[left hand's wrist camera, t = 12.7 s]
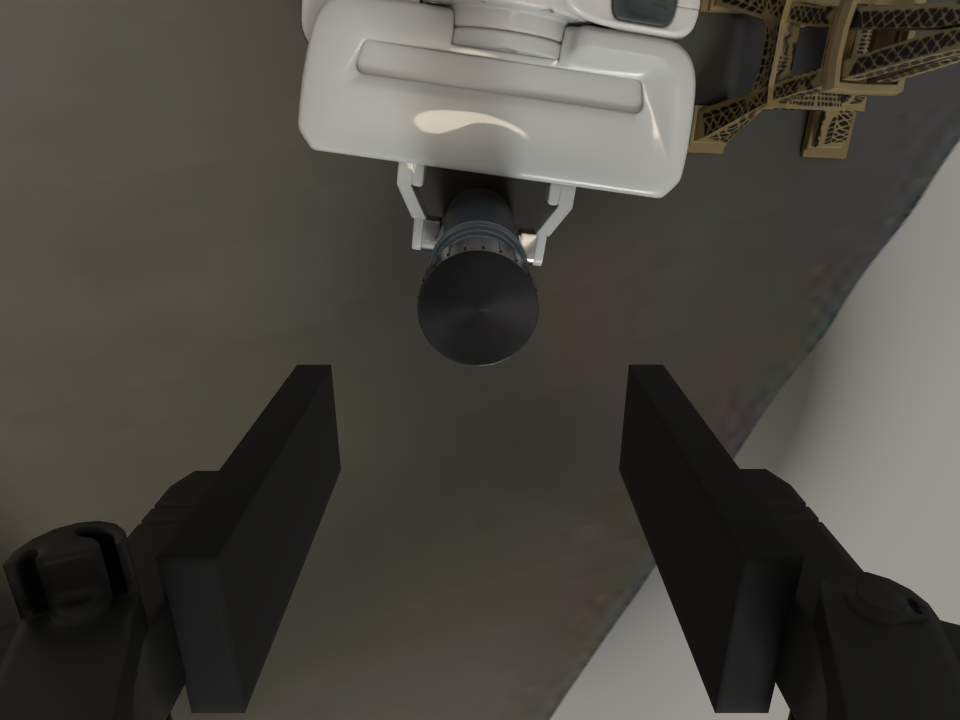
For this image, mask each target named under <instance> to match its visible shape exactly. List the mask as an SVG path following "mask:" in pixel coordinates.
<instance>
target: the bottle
mask: <svg viewBox="0 0 960 720" xmlns="http://www.w3.org/2000/svg"><path fill="white" fill-rule="evenodd" d="M482 237H484V238H488V239H492V240H496V241H498V242H499V241H501V243H503V244H505V245H507V246H509V247H510V248H511V249H513V250H514V249H515V250H516V253H517V254H518V255H519V256H520V257H521V258H522V260H523V261H524V262H526V263H527V265H528V260H527V256H526V253H525V250H524V247H523V244H522V241H521V238H520V235H519V232H518V229H517V226H516V223H515V220H514V217H513V214H512V211H511V209H510V207H509V205H508V203H507V202H506V201H505V199H504V198H503V197H502V196H500V195H499V194H498V193H496V192H494V191H492V190H490V189H486V188H472V189H469V190H466V191H464V192H462V193H460V194H459V195H457V196H456V197H455V198H454V199H453V200H452V202H451V203H450V205H449V207H448V209H447V211H446V214H445V217H444V220H443V222H442V225H441V228H440V231H439V233H438V236H437V239H436V242H435V245H434V247H433V250H432V253H431V256H430V260H429V266H430V264H431V263H432V261H433V260H434V258H435V255H436V254H439V253H440V252H441V251H443V250H444V249H445V248H446V247H448V245H449V244H453V243H455V242H458V241H461V240H464V239H465V238H467V239H469V238H482Z"/></svg>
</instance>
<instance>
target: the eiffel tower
mask: <svg viewBox="0 0 960 720" xmlns="http://www.w3.org/2000/svg"><path fill="white" fill-rule="evenodd" d="M926 1H927V0H785V1H783V0H700V9H699V12H708V13H731V14H748V15H751V16H754V17H757V18H760V19H764V23H765V45H764V53H763V58H762V63H761V66H760V69H759V73H758V76H757V79H756V82H755V84H754V86H753V89H752V91H751V92H749V93H746V94H743V95H740V96H737V97H735V98H732V99H729V100H726V101H723V102H720V103H717V104H714V105H712V106H705V105H694V111H693V119H692V126H691V133H690V139H689V145H688V150H687V152H694V153H719V154H723V150H724V146H725V147H726V144H727V142H728V141H729V140H730V139H731V138H732V137H734V136H735V135H736V134H737V133H738V132H739V131H740V130H741V129H742V128H743V127H744V126H745V125H747V124H748V123H749V122H750V121H751V120H752V119H753V118H754V117H755V116H756V115H757V114H758V113H760V112H761V111H762V110H763V109H783V110H809V111H810V113H809V117H808V122H807V127H806V131H805V136H804V141H803V145H802V150H801V155H800V157H819V158H845V159H846V155H847V151H848V147H849V142H850V138H851V134H852V130H853V126H854V121H855V117H856V113H857V112H853V111H865V105H866V98H867V96H868V95H897V94H899V93H900V92H902V91H903V88H904V82H905V79H906V78H909V77H913V76H916V75H919V74H922V73H926V72H929V71H932V70H936V69H939V68H942V67H945V66H949V65H952V64H955V63H959V62H960V0H958V1H949V2H937V3H926ZM806 26H810V27H816V28H829V32H828V36H827V41H826V45H825V50H824V55H823V59H822V64H821V68H820V69H816V70H812V71H809V72H805V73H802V74H798V75H795V76H793V77H790V75H791V70H792V65H793V60H794V54H795V49H796V45H797V40H798V35H799V30H800V29H801V28H803V27H806ZM926 30H940V31H935V32H930V33H927V34H924V35H921V36H918V37H915V38H914V36H915V32H916V31H926Z"/></svg>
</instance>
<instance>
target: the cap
mask: <svg viewBox="0 0 960 720" xmlns="http://www.w3.org/2000/svg"><path fill="white" fill-rule="evenodd" d="M422 281H423V284H422V285H421V288H420V291H419V294H418V297H417V298H418V317H419V322H420V325H421V328H422V331H423V333H424V335H425V336H426V338H427V339H428V341H429V342H430V344H431V345H432V346H433V347H434V348H435V349H436V350H437V351H438V352H440V353H441V354H442V355H444V356H445V357H447V358H449V359H451V360H453V361H455V362H458V363H461V364H465V365H471V366H485V365H492V364H495V363H499V362H501V361H504V360H506V359H508V358H509V357H511V356H513V355H514V354H515V353H517V352H518V351H519V350H520V349H521V348H522V347H523V346H524V345H525V344H526V342H527V341H528V340H529V338H530V337H531V335H532V333H533V331H534V328H535V326H536V322H537V318H538V308H539V305H538V298H537V294H536V291H537V288H536V285H535V282H534V279H533V277H531V274H530V272H529V268H528V265H527V263H526V262H524V261H523V260H522V258H521V257H520V256H519V255H518V254H517V253H516V250H515V249H514V250H513V249H511V248H510V247H509V246H507V245H505V244H503V243H501V241H499V242H498V241H496V240H492V239H488V238H484V237H482V238H469V239H467V238H465V239H464V240H461V241H458V242H455V243H453V244H449V245H448V247H446V248H445V249H444V250H443V251H441V252H440V253H439V254H436V255H435V258H434V260H433V261H432V263H431V264H430V266H429V268H427V269H426V271H425V274H424V277H423V280H422Z"/></svg>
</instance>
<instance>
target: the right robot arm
mask: <svg viewBox="0 0 960 720" xmlns="http://www.w3.org/2000/svg"><path fill="white" fill-rule="evenodd" d="M421 1H422V0H302V8H301V25H302V31H303V34H304V37H305V39H306V41H307V43H308V48H307V53H306V59H305V65H304V71H303V77H302V85H301V93H300V103H299V117H298V126H299V130H300V132H301V133H302V135H303V137H304V138H305V140H306V141H307V143H308V144H309V145H310V147H311V148H312V149H314V150H319V151H326V152H333V153H340V154H347V155H354V156H361V157H368V158H376V159H383V160H390V161H397V162H399V165H398V177H397V185H398V187H399V190H400V192H401V194H402V196H403V199H404V201H405V203H406V205H407V207H408V210H409V212H410V214H411V216H412V218H414V227H413V238H412V249H416V250H424V251H432V250H433V247H434V245H435V242H436V239H437V236H438V233H439V231H440V228H441V224H442V217H437V216H430V215H428V212H427V210H426V207H425V205H424V203H423V200H422V198H421V195H420V193H419V191H418V188H417V186H419V187H421V186H422V185H423V184H424V183H425V182H426V175H427V166H433V167H440V168H447V169H454V170H461V171H468V172H475V173H482V174H490V175H497V176H504V177H511V178H518V179H525V180H532V181H539V182H546V189H545V196H544V198H545V200H546V201H547V202H548V203H549V205H551V206H550V207H549V209H548V210H547V211H546V213H545V214H544V215H543V216H542V218H541V219H540V220H539V222H538V223H537V224H536V225H535V227H534V228H533V229H524V228H519V235H520V238H521V241H522V244H523V247H524V250H525V253H526V256H527V260H528V265H536V266H541V264H542V261H543V255H544V250H545V244H546V238H547V236H550V235H551V233H552V232H553V231H554V230H555V229H556V227H557V226H558V225H559V224H560V223H561V221H562V220H563V219H564V218H565V217H566V215H567V214H568V213H569V212H570V210H571V209H572V207H573V201H574V196H575V191H576V187H582V188H589V189H596V190H603V191H611V192H618V193H625V194H632V195H639V196H646V197H654V198H661V197H663V196H665V195H666V194H667V193H668V192H669V191H670V190H672V189H673V188H674V187H675V186H676V185H677V184H678V182H679V181H680V179H681V176H682V172H683V169H684V165H685V160H686V155H687V150H688V145H689V139H690V133H691V126H692V119H693V111H694V101H695V87H696V82H695V71H694V67H693V63H692V61H691V58H690V56H689V55H688V53H687V52H686V51H685V50H684V49H683V47H681V46H680V45H679V44H677V43H675V42H677V41H679V40H681V39H682V38H684V37H685V36H687V35H688V34H689V33H690V32H691V31H692V29H693V28H694V26H695V23H696V20H697V17H698V13H699V9H700V0H423V3H421Z"/></svg>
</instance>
